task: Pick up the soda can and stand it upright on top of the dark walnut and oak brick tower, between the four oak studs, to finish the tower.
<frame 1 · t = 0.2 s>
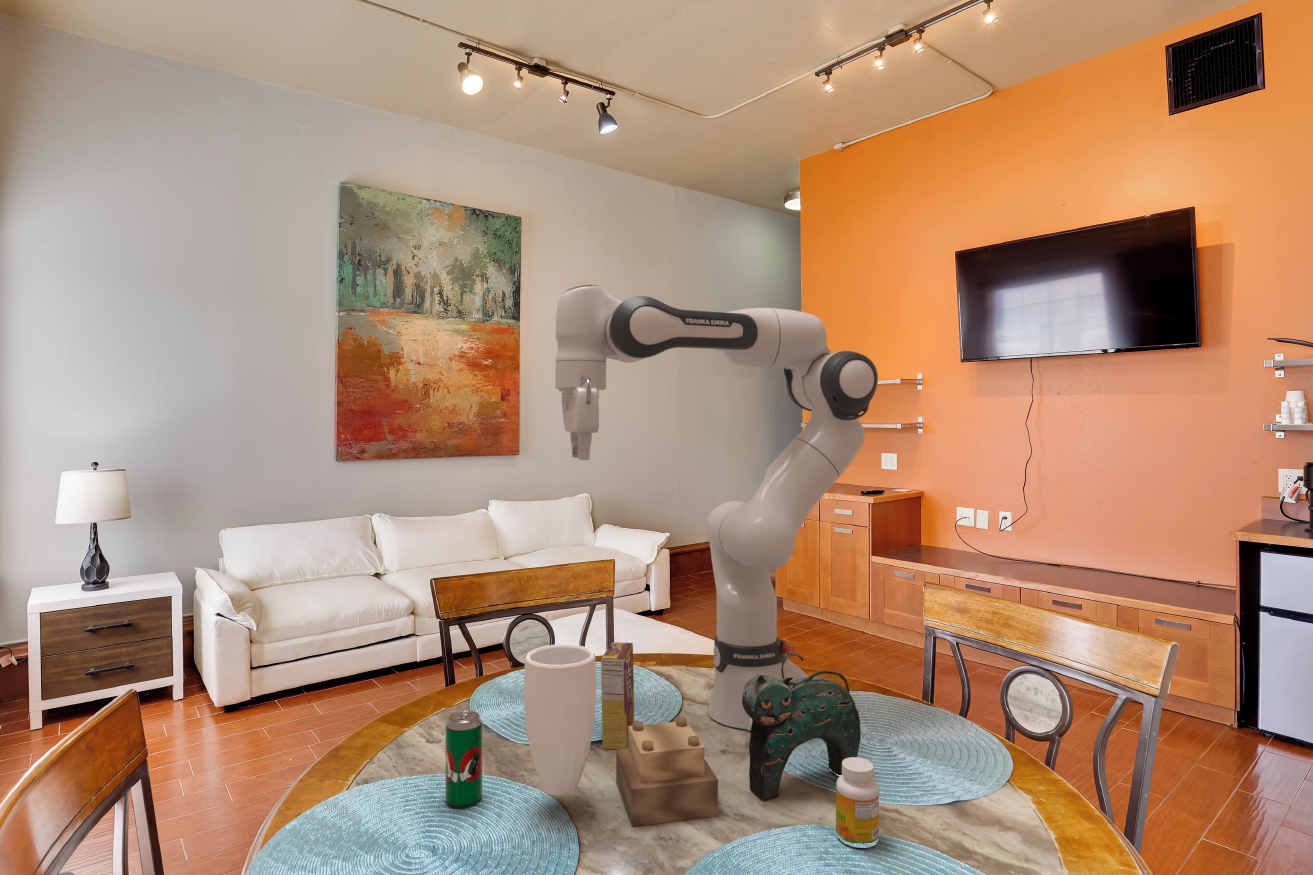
hand: (580, 458, 124), 48 cm above the table, tool pointing down, fingers open, 8 cm apart
supplement bottle: (856, 839, 92), on the table
ceramic cat: (800, 784, 107), on the table
soda can: (463, 801, 101), on the table
candy box: (618, 739, 122), on the table
tower base: (664, 798, 102), on the table
cup: (560, 809, 99), on the table
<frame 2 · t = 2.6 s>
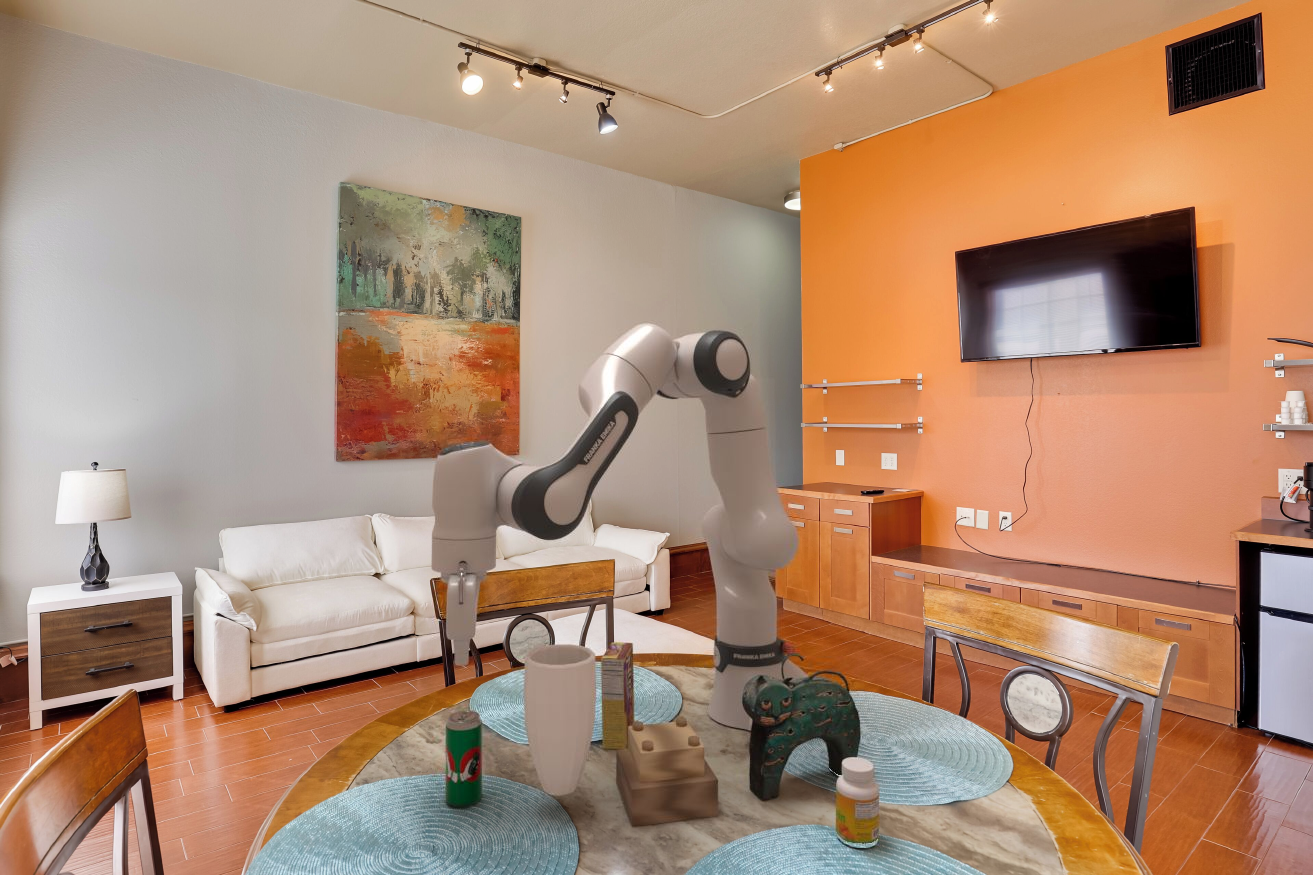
hand: (462, 653, 101), 21 cm above the table, tool pointing down, fingers open, 8 cm apart
nothing on the table moved.
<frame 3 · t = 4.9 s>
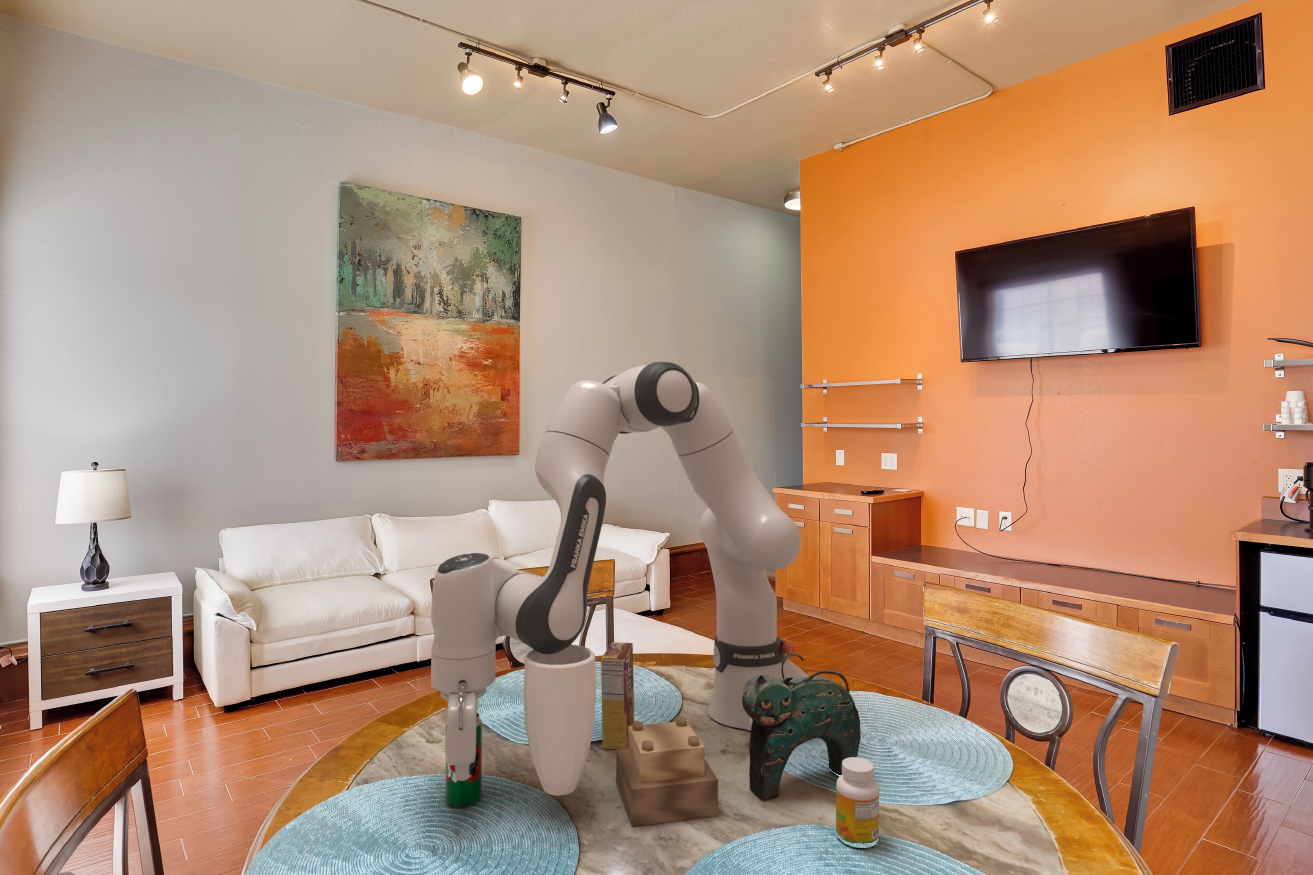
hand: (463, 766, 101), 5 cm above the table, tool pointing down, fingers closed on soda can, 5 cm apart
soda can: (463, 801, 101), on the table, touching gripper
cup: (560, 809, 99), on the table, touching arm
everything else where it was.
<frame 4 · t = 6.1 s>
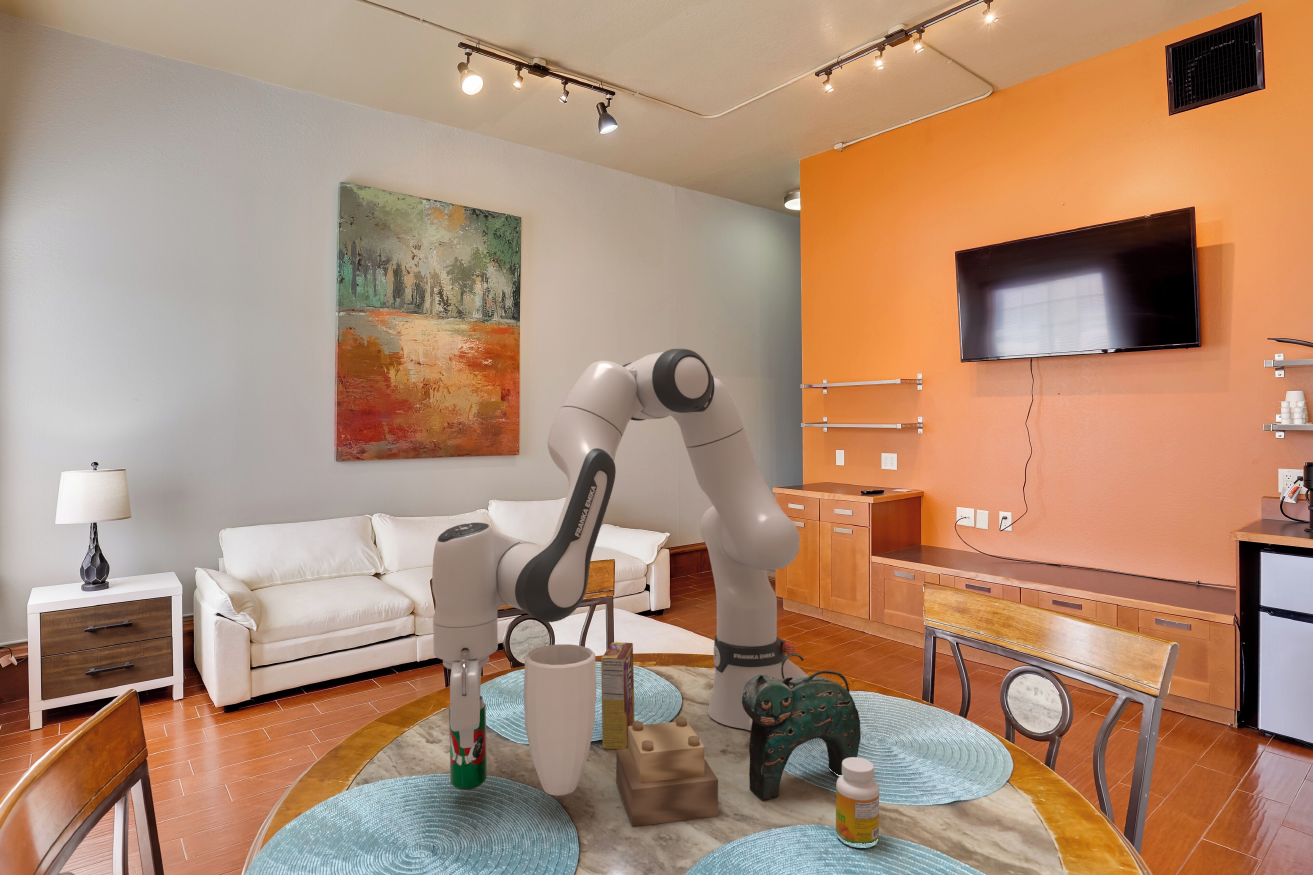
hand: (467, 735, 101), 9 cm above the table, tool pointing down, fingers closed on soda can, 5 cm apart
soda can: (469, 784, 102), point 2 cm above the table, touching gripper
cup: (560, 809, 99), on the table
everything else where it was.
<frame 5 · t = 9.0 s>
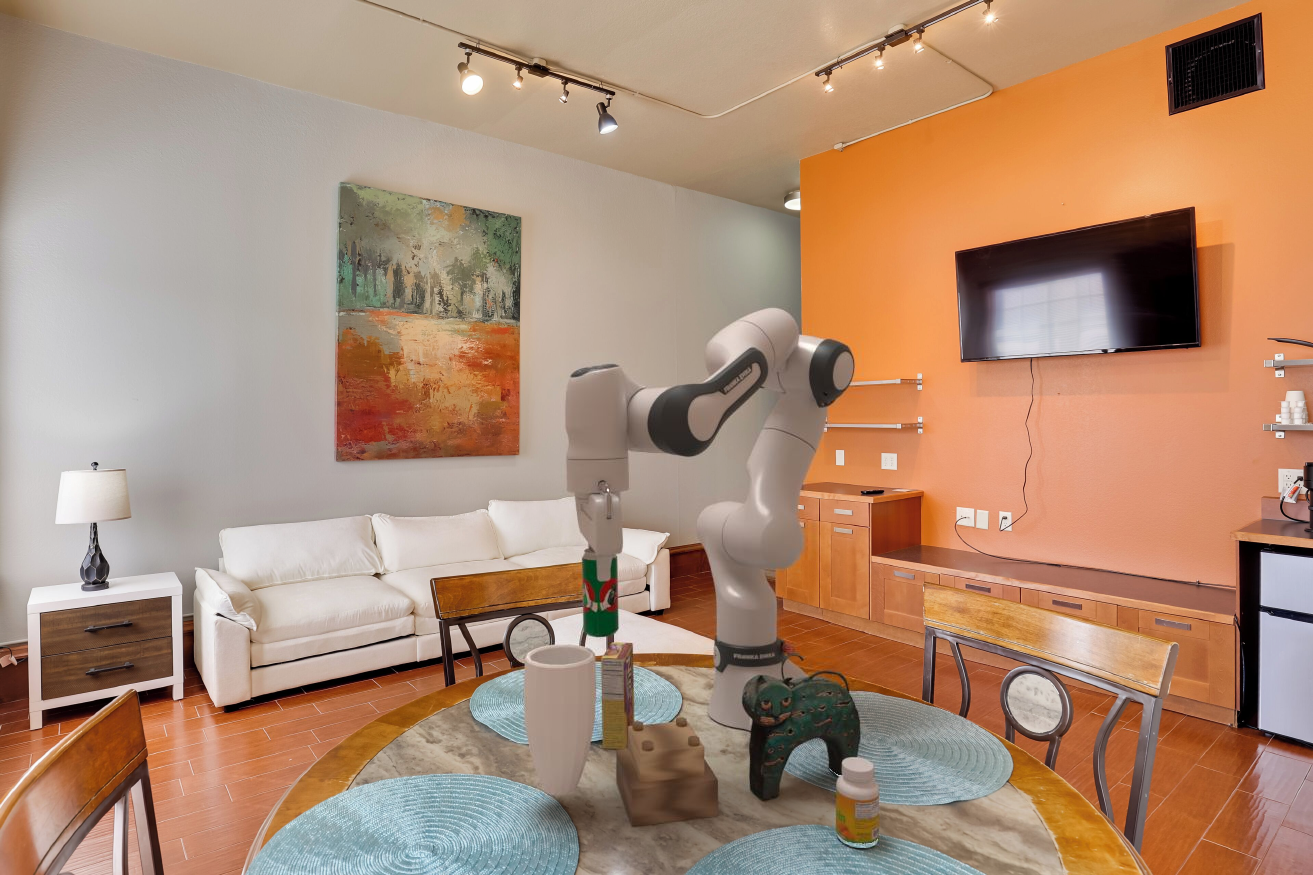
hand: (600, 574, 102), 32 cm above the table, tool pointing down, fingers closed on soda can, 5 cm apart
soda can: (601, 634, 102), point 24 cm above the table, touching gripper
everything else where it was.
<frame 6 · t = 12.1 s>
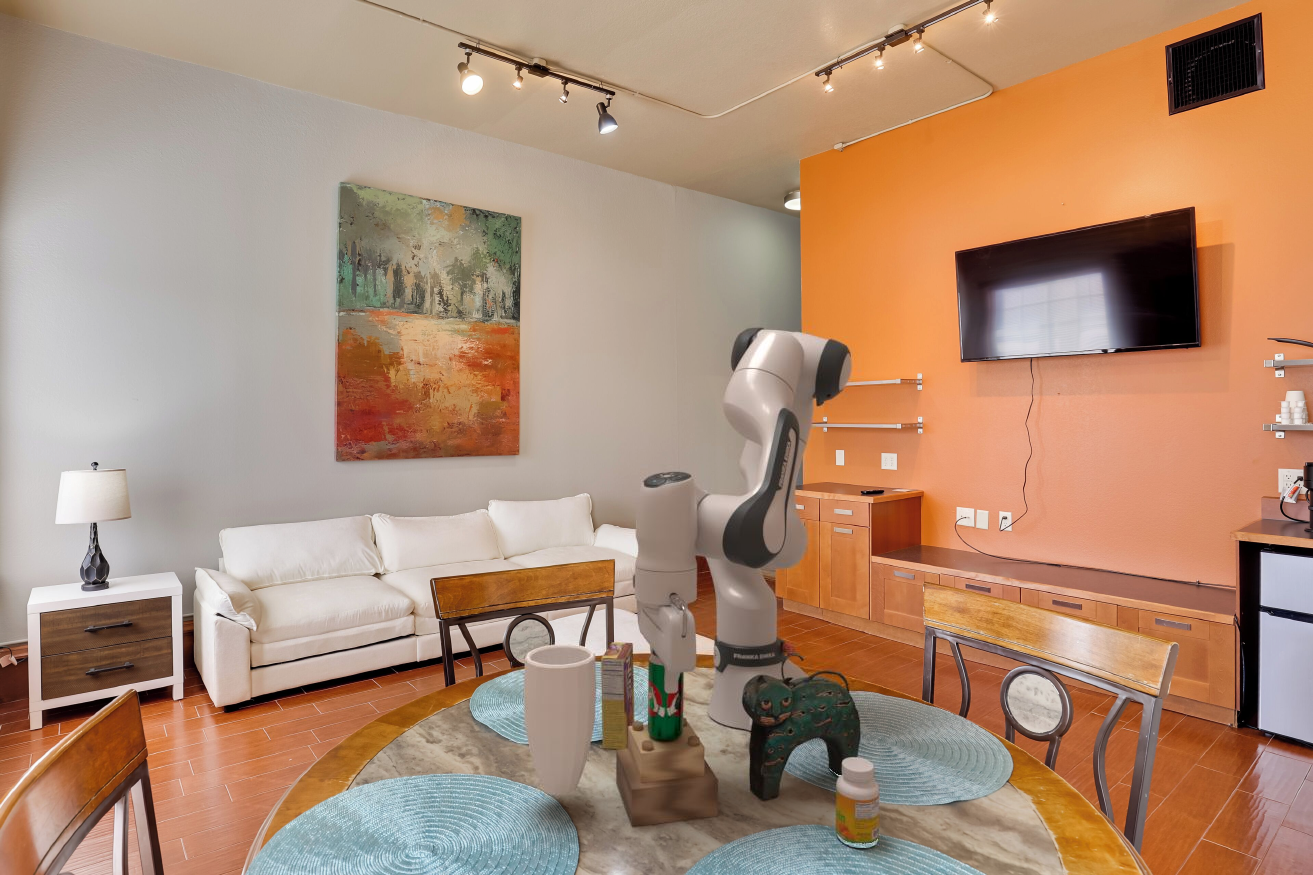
hand: (664, 683, 102), 17 cm above the table, tool pointing down, fingers closed on soda can, 5 cm apart
soda can: (665, 736, 102), point 9 cm above the table, touching gripper, tower base
everything else where it was.
when the fingers open (15 cm above the table, at t = 13.2 s): soda can stays where it is, resting on tower base.
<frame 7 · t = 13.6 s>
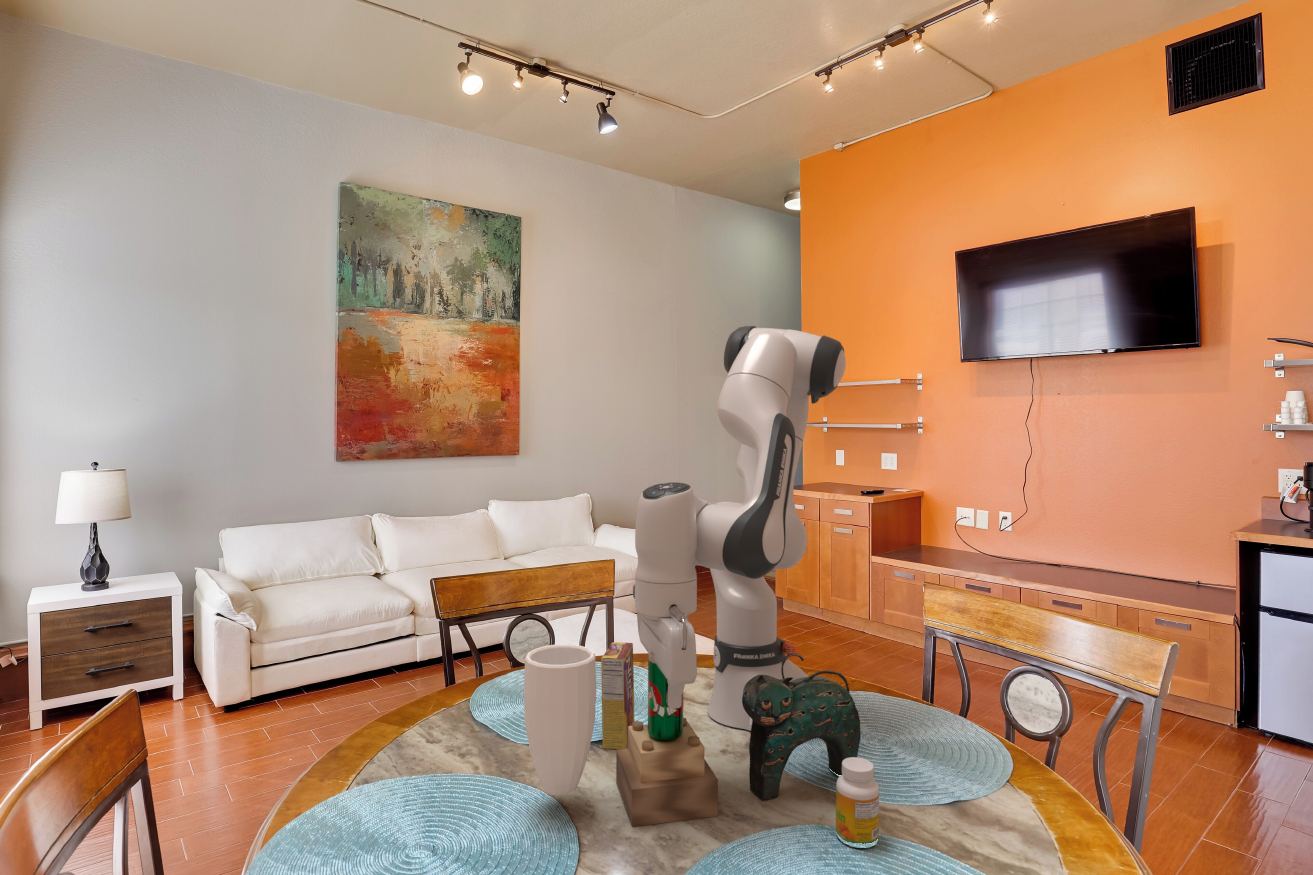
hand: (665, 693, 102), 15 cm above the table, tool pointing down, fingers open, 8 cm apart
soda can: (665, 736, 102), point 9 cm above the table, touching tower base
everything else where it was.
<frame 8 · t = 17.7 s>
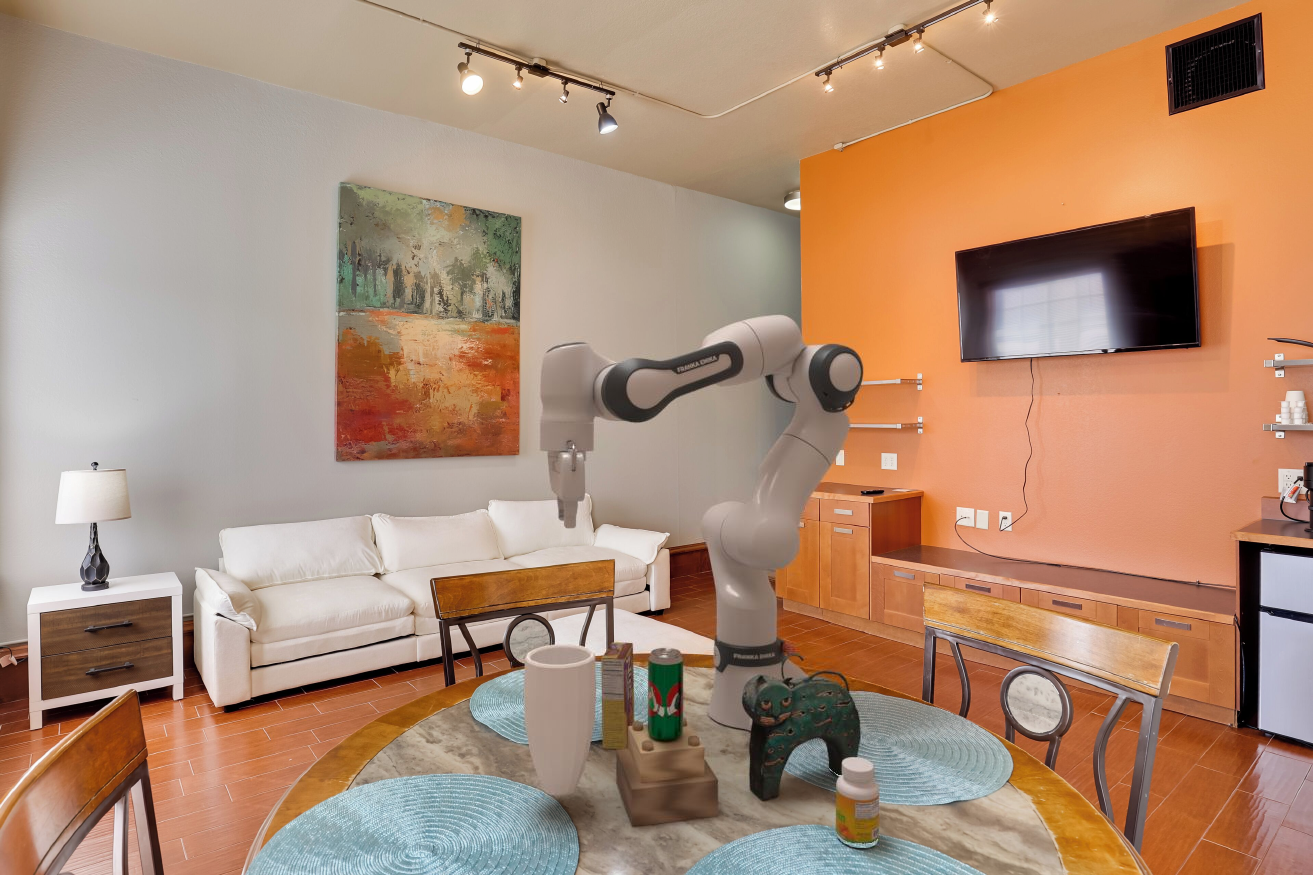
hand: (566, 523, 118), 37 cm above the table, tool pointing down, fingers open, 8 cm apart
nothing on the table moved.
at the end: soda can 0.3 cm from the tower base (horizontally); soda can point 8.8 cm above the table; soda can tilted 0° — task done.
